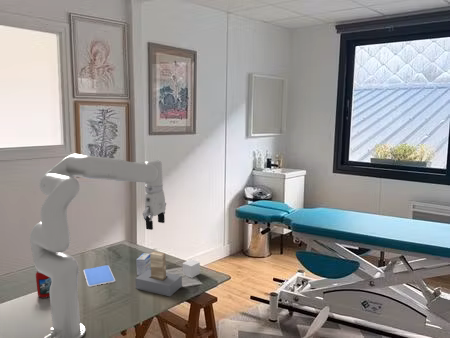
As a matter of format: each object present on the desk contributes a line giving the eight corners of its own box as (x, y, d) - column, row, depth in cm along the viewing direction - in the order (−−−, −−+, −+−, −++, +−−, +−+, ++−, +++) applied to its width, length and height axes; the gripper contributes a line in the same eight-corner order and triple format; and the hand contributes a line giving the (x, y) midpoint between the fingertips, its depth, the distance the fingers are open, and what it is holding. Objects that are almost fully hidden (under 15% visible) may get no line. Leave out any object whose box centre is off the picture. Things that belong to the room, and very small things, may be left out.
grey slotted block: (169, 296, 181) (169, 285, 180) (135, 288, 188) (135, 278, 187) (181, 285, 191) (181, 275, 190) (149, 278, 198) (148, 269, 197)
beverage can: (44, 300, 178) (41, 274, 176) (34, 296, 182) (31, 270, 179) (57, 293, 184) (55, 268, 182) (48, 289, 187) (45, 265, 185)
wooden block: (162, 280, 186) (161, 255, 184) (151, 278, 188) (150, 253, 186) (166, 277, 189) (165, 253, 186) (155, 275, 191) (154, 251, 189)
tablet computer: (116, 282, 195) (115, 280, 195) (88, 288, 190) (88, 285, 189) (108, 267, 212) (108, 264, 212) (83, 271, 207) (83, 269, 207)
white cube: (199, 273, 203) (199, 262, 202) (191, 278, 199) (191, 266, 197) (191, 270, 207) (191, 259, 206) (182, 274, 202) (182, 263, 201)
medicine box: (145, 276, 200) (144, 259, 198) (136, 275, 201) (136, 259, 199) (151, 269, 208) (150, 253, 206) (143, 268, 209) (142, 252, 207)
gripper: (150, 194, 171) (151, 233, 175) (171, 184, 187) (172, 221, 190) (135, 192, 174) (137, 230, 178) (157, 183, 190) (158, 219, 193)
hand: (155, 225), depth 184 cm, fingers open, 9 cm apart
